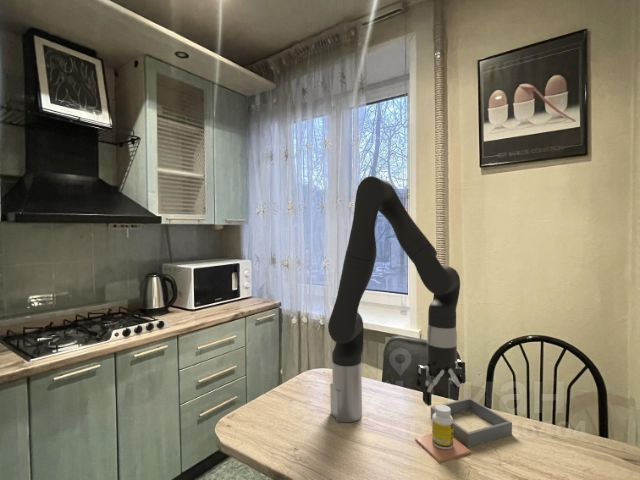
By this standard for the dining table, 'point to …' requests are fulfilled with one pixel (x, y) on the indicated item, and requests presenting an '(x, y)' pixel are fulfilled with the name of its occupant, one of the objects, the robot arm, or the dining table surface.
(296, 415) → the dining table surface
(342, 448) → the dining table surface
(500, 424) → the bin
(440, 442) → the supplement bottle
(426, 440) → the tile
